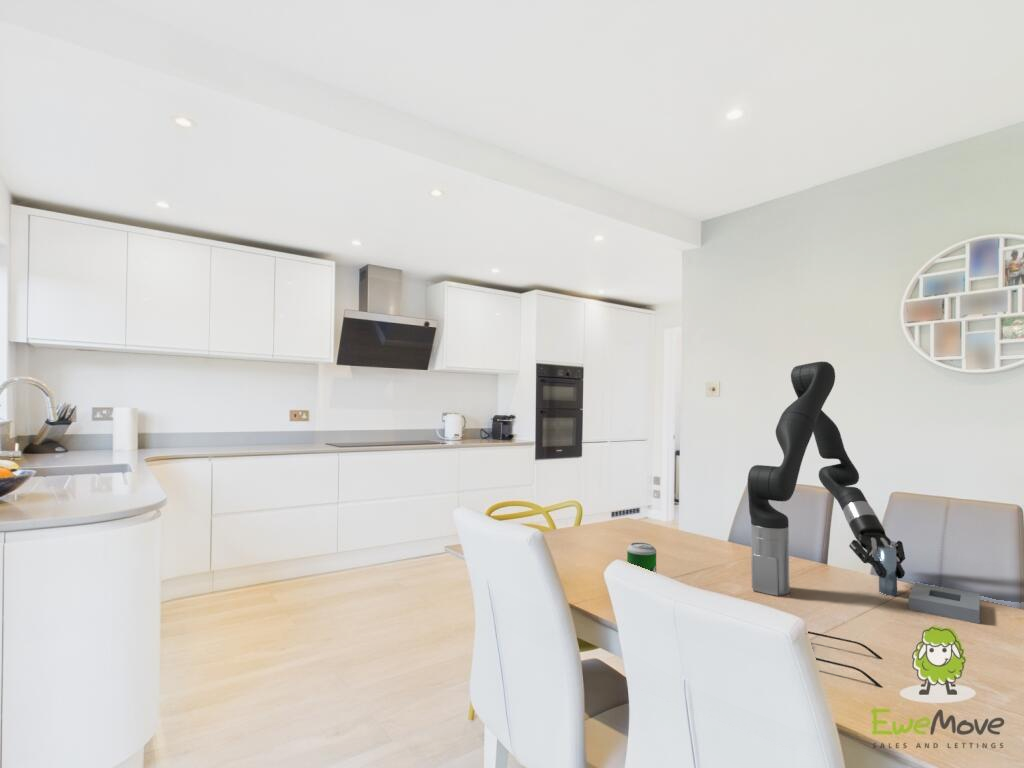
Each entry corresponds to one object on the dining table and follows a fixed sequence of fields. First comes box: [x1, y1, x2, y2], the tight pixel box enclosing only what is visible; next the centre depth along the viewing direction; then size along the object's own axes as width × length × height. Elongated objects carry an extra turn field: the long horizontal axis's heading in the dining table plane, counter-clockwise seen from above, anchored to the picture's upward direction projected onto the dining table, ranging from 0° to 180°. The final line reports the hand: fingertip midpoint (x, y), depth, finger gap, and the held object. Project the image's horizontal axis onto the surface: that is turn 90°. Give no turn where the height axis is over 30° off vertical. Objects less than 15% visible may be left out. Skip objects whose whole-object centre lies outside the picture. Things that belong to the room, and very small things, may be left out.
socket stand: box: [908, 582, 981, 625], centre depth 133 cm, size 16×13×3 cm
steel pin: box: [878, 546, 898, 597], centre depth 143 cm, size 4×4×12 cm
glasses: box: [807, 630, 883, 688], centre depth 103 cm, size 14×16×5 cm
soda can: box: [626, 541, 657, 573], centre depth 143 cm, size 8×8×12 cm
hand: (892, 576), depth 141 cm, fingers closed on steel pin, 4 cm apart
